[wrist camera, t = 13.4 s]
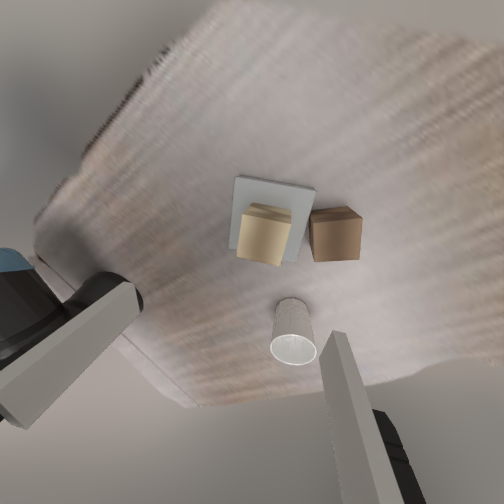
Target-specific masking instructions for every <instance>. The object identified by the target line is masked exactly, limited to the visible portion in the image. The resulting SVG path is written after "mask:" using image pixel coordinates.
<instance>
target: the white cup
mask: <svg viewBox="0 0 504 504" xmlns="http://www.w3.org/2000/svg"><path fill="white" fill-rule="evenodd" d="M270 350H271V353H272V354H273V356H274V357H275V358H276V359H278V360H279V361H281V362H283V363H286V364H290V365H303V364H307V363H309V362H311V361H312V360H313V359H314V358H315V356H316V353H317V351H316V346H315V341H314V335H313V330H312V326H311V321H310V317H309V314H308V309H307V307H306V305H305V304H304V303H303V302H302V301H300V300H298V299H294V298H289V299H284V300H282V301H280V303H279V304H278V305H277V309H276V315H275V319H274V324H273V331H272V338H271V344H270Z"/></svg>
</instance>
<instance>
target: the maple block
mask: <svg viewBox="0 0 504 504" xmlns="http://www.w3.org/2000/svg"><path fill="white" fill-rule="evenodd" d="M290 228H291V210H288V209H283V208H278V207H273V206H268V205H263V204H258V203H253V202H252V203H251V205H250V206H249V207H248V208H247V209H246V210H245V211H244V213H243V214H242V220H241V227H240V234H239V242H238V249H237V256H236V257H240V258H245V259H249V260H253V261H258V262H262V263H266V264H270V265H275V266H279V267H280V264H281V261H282V257H283V253H284V250H285V246H286V242H287V239H288V235H289V231H290Z"/></svg>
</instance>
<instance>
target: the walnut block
mask: <svg viewBox="0 0 504 504" xmlns="http://www.w3.org/2000/svg"><path fill="white" fill-rule="evenodd" d="M362 220H363V218H362V217H361V216H359V215H358V214H357V213H356V212H354V211H353V210H352V209H350V208H349V207H348V206H345V207H337V208H329V209H321V210H313V211H311V212H310V215H309V239H310V247H311V251H312V255H313V258H314V262H325V261H342V260H359V257H360V244H361V232H362Z"/></svg>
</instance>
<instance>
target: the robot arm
mask: <svg viewBox="0 0 504 504" xmlns="http://www.w3.org/2000/svg"><path fill="white" fill-rule="evenodd" d="M142 309H143V302H142V298H141V296H140V294H139V293H138V291H137V290H136V289H135V285H134V284H133V283H129V282H128V281H127V280H125V279H124V278H122V277H120V276H118V275H116V274H113V273H110V272H99V273H97V274H95V275H93V276H91V277H90V278H88V279H87V280H86V281H85V282H84V283H83V285H82V286H81V287H80V288H79V289H78V290H77V291H76V292H75V293H74V294H73V295H72V296H71V297H70V298H69V299H68V300H67V301H65V302H64V303H61V302H60V300H59V299H58V298H57V297H56V295H55V294H54V293H53V292H52V290H51V289H50V288H49V287H48V285H47V284H46V283H45V282H44V280H43V279H42V278H41V277H40V276H39V274H38V273H37V272H36V271H35V267H34V266H31V265H30V263H29V262H28V261H27V260H26V259H25V258H24V257H23V256H22V255H21V254H20V253H19V252H17V251H16V250H14V249H11V248H0V422H1V421H2V420H3V419H4V418H5V419H6V420H7V421H8V422H9V423H10V424H11V425H14V426H17V427H20V428H23V429H26V430H27V429H28V428H29V427H30V426H31V425H32V424H33V423H34V422H35V421H36V420H37V419H38V418H39V417H40V416H41V415H42V414H43V413H44V412H45V411H46V410H47V409H48V408H49V407H50V406H51V404H53V403H54V402H55V400H56V399H57V398H58V397H59V396H60V395H61V394H62V393H63V392H64V391H65V390H66V389H67V388H68V387H69V386H70V385H71V384H72V383H73V382H74V381H75V380H76V379H77V378H78V377H79V376H80V375H81V374H82V373H83V372H84V371H85V370H86V369H87V368H88V367H89V366H90V364H92V363H93V361H94V360H95V359H96V358H97V357H98V356H99V355H100V354H101V353H102V352H103V351H104V350H105V349H106V348H107V347H108V346H109V345H110V344H111V343H112V342H113V341H114V340H115V339H116V338H117V337H118V336H119V335H120V334H121V333H122V332H123V331H124V330H125V329H126V328H127V327H128V326H129V325H130V324H131V323H132V321H133V320H134V319H135V318H136V317H137V316H138V315H139V314H140V313H141V311H142ZM319 361H320V367H321V374H322V380H323V386H324V392H325V398H326V404H327V410H328V416H329V423H330V429H331V435H332V441H333V447H334V453H335V459H336V465H337V472H338V478H339V484H340V490H341V496H342V502H343V504H426V502H425V499H424V497H423V494H422V492H421V489H420V487H419V484H418V482H417V480H416V477H415V475H414V472H413V470H412V467H411V466H410V465H409V460H408V457H407V455H406V453H405V450H404V449H403V445H402V443H401V440H400V438H399V435H398V433H397V431H396V428H395V427H394V425H393V424H392V422H391V421H390V419H389V418H388V416H387V415H386V414H385V412H381V411H378V410H374V409H372V408H371V405H370V403H369V400H368V397H367V394H366V391H365V388H364V385H363V382H362V379H361V376H360V373H359V370H358V368H357V365H356V362H355V359H354V356H353V353H352V350H351V347H350V344H349V341H348V338H347V336H346V333H342V332H338V331H334V330H333V331H332V333H331V335H330V337H329V339H328V341H327V343H326V345H325V347H324V349H323V351H322V353H321V355H320V357H319Z"/></svg>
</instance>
